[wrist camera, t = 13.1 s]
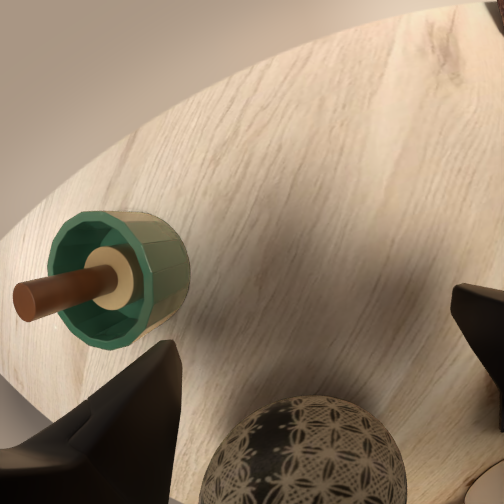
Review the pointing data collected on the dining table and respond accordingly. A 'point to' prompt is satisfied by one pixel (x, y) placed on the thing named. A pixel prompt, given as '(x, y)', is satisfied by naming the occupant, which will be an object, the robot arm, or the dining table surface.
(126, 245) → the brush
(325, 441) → the decorative egg
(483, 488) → the mug
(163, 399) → the robot arm
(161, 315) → the green round pot
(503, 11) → the fossil
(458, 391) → the dining table surface
